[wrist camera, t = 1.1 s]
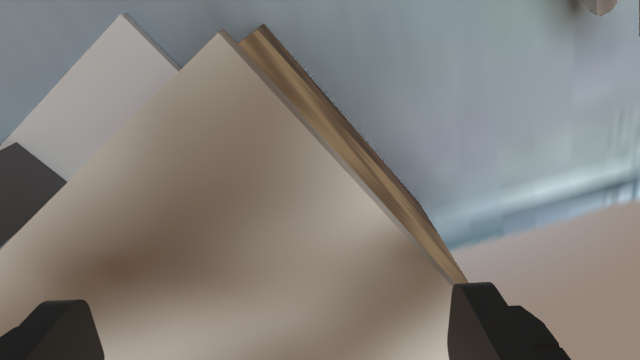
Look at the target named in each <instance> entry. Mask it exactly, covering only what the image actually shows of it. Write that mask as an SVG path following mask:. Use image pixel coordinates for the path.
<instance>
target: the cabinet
mask: <svg viewBox="0 0 640 360" xmlns="http://www.w3.org/2000/svg"><path fill="white" fill-rule="evenodd" d="M459 283H468V281H467V279H466V278H465V276H464V275H463V273H462V271H461V270H460V268H459V266H458V265H457V263H456V262H455V260H454V258H453V257H452V255H451V253H450V252H449V250H448V249H447V247H446V245H445V244H444V242H443V241H442V239H441V237H440V236H439V234H438V233H437V231H436V229H435V228H434V226H433V224H432V223H431V221H430V220H429V218H428V216H427V215H426V213H425V212H424V210H423V208H422V207H421V205H420V204H419V202H418V201H417V200H416V199H415V198H414V197H413V196H412V194H411V193H410V192H409V191H408V190H407V189H406V187H405V186H404V185H403V184H402V183H401V182H400V181H399V179H398V178H397V177H396V176H395V175H394V174H393V172H392V171H391V170H390V169H389V168H388V167H387V166H386V164H385V163H384V162H383V161H382V160H381V159H380V157H379V156H378V155H377V154H376V153H375V152H374V150H373V149H372V148H371V147H370V146H369V145H368V144H367V142H366V141H365V140H364V139H363V138H362V137H361V135H360V134H359V133H358V132H357V131H356V130H355V129H354V127H353V126H352V125H351V124H350V123H349V122H348V120H347V119H346V118H345V117H344V116H343V115H342V114H341V112H340V111H339V110H338V109H337V108H336V107H335V105H334V104H333V103H332V102H331V101H330V100H329V98H328V97H327V96H326V95H325V94H324V93H323V92H322V90H321V89H320V88H319V87H318V86H317V85H316V83H315V82H314V81H313V80H312V79H311V78H310V77H309V75H308V74H307V73H306V72H305V71H304V70H303V68H302V67H301V66H300V65H299V64H298V63H297V61H296V60H295V59H294V58H293V57H292V56H291V55H290V53H289V52H288V51H287V50H286V49H285V48H284V46H283V45H282V44H281V43H280V42H279V41H278V40H277V38H276V37H275V36H274V35H273V34H272V33H271V31H270V30H269V29H268V28H267V27H266V26H265V25H264V24H263V25H262V26H261V27H259V28H258V29H257V30H255V31H254V32H253V33H251V34H250V35H249V36H247V37H246V38H245V39H243V40H242V41H241V42H239V43H237V42H236V41H235V40H234V39H233V38H232V37H231V36H230V35H229V34H228V33H227V31H226V30H223V31H220V32H218V33H217V34H216V35H215V36H214V37H213V38H212V39H211V40H210V41H209V42H208V43H207V44H206V45H205V46H204V47H203V48H202V49H201V50H200V51H199V52H198V53H197V54H196V55H195V56H194V57H193V58H192V59H191V60H190V61H189V62H188V63H187V64H186V65H185V66H184V67H183V68H182V69H181V70H180V71H179V72H178V73H177V74H176V75H175V76H174V77H173V78H172V79H171V80H170V81H169V82H168V83H167V84H166V85H165V86H164V87H163V88H162V89H161V90H160V91H159V92H158V93H157V94H156V95H155V96H154V97H153V98H152V99H151V100H150V101H149V102H148V103H147V104H146V105H145V106H144V107H143V108H142V109H141V110H140V111H139V112H138V113H137V114H136V115H135V116H134V117H133V118H132V119H131V120H130V121H129V122H128V123H127V124H126V125H125V126H124V127H123V128H122V129H121V130H120V131H119V132H118V133H117V134H116V135H115V136H114V137H113V138H112V139H111V140H110V141H109V142H108V143H107V144H106V145H105V146H104V147H103V148H102V149H101V150H100V151H99V152H98V153H97V154H96V155H95V156H94V157H93V158H92V159H91V160H90V161H89V162H88V163H87V164H86V165H85V166H84V167H83V168H82V169H81V170H80V171H79V172H78V173H77V174H76V175H75V176H74V177H73V178H72V179H70V180H69V181H68V182H67V183H66V184H65V185H64V186H63V187H62V188H61V189H60V190H59V191H58V192H57V193H56V194H55V195H54V196H53V197H52V198H51V199H50V200H49V201H48V202H47V203H46V204H45V205H44V206H43V207H42V208H41V209H40V210H39V211H38V212H37V213H36V214H35V215H34V216H33V217H32V218H31V219H30V220H29V221H28V222H27V223H26V224H25V225H24V226H23V227H22V228H21V229H20V230H19V231H18V232H17V233H16V234H15V235H14V236H13V237H12V238H11V239H10V240H9V241H8V242H7V243H6V244H5V245H4V246H3V247H2V248H1V249H0V337H1V336H2V335H4V334H5V333H7V332H8V331H10V330H11V329H13V328H14V327H18V326H19V325H20V324H21V323H22V322H23V321H24V320H25V319H26V318H27V317H28V315H29V314H30V313H31V312H32V311H33V310H34V309H35V308H36V307H37V306H38V305H39V304H41V303H42V302H44V301H54V300H76V299H82V300H85V301H86V302H87V303H88V305H89V307H90V310H91V313H92V316H93V320H94V323H95V326H96V329H97V332H98V335H99V338H100V342H101V345H102V348H103V351H104V357H105V360H449V355H448V348H447V335H448V325H449V315H450V305H451V295H452V289H453V286H454V284H459Z"/></svg>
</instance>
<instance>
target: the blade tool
mask: <svg viewBox="0 0 640 360" xmlns="http://www.w3.org/2000/svg"><path fill="white" fill-rule="evenodd" d="M180 70H181V68H180V67H179V66H178V65H177V64H176V63H175V62H174V61H173V60H172V59H171V58H170V57H169V56H168V55H167V54H166V53H165V52H164V51H163V50H162V49H161V48H160V47H159V46H158V45H157V44H156V43H155V42H154V41H153V40H152V39H151V38H150V37H149V36H148V35H147V34H146V33H145V32H144V31H143V30H142V29H141V28H140V27H139V26H138V25H137V24H136V23H135V22H134V21H133V20H132V19H131V18H130V17H129V16H128V15H127V14H120V15H119V16H118V17H117V18H116V19H115V21H114V22H113V23H112V24H111V25H110V26H109V27H108V28H107V29H106V30H105V31H104V33H103V34H102V35H101V36H100V37H99V38H98V39H97V40H96V41H95V42H94V44H93V45H92V46H91V47H90V48H89V49H88V50H87V51H86V52H85V53H84V55H83V56H82V57H81V58H80V59H79V60H78V61H77V62H76V63H75V64H74V65H73V67H72V68H71V69H70V70H69V71H68V72H67V73H66V74H65V75H64V76H63V78H62V79H61V80H60V81H59V82H58V83H57V84H56V85H55V86H54V87H53V88H52V90H51V91H50V92H49V93H48V94H47V95H46V96H45V97H44V98H43V99H42V101H41V102H40V103H39V104H38V105H37V106H36V107H35V108H34V109H33V110H32V112H31V113H30V114H29V115H28V116H27V117H26V118H25V119H24V120H23V121H22V122H21V124H20V125H19V126H18V127H17V128H16V129H15V130H14V131H13V132H12V133H11V135H10V136H9V137H8V138H7V139H6V140H5V141H4V142H3V143H2V144H1V145H0V249H1V248H2V247H3V246H4V245H5V244H6V243H7V242H8V241H9V240H10V239H11V238H12V237H13V236H14V235H15V234H16V233H17V232H18V231H19V230H20V229H21V228H22V227H23V226H24V225H25V224H26V223H27V222H28V221H29V220H30V219H31V218H32V217H33V216H34V215H35V214H36V213H37V212H38V211H39V210H40V209H41V208H42V207H43V206H44V205H45V204H46V203H47V202H48V201H49V200H50V199H51V198H52V197H53V196H54V195H55V194H56V193H57V192H58V191H59V190H60V189H61V188H62V187H63V186H64V185H65V184H66V183H67V182H68V181H69V180H70V179H72V178H73V177H74V176H75V175H76V174H77V173H78V172H79V171H80V170H81V169H82V168H83V167H84V166H85V165H86V164H87V163H88V162H89V161H90V160H91V159H92V158H93V157H94V156H95V155H96V154H97V153H98V152H99V151H100V150H101V149H102V148H103V147H104V146H105V145H106V144H107V143H108V142H109V141H110V140H111V139H112V138H113V137H114V136H115V135H116V134H117V133H118V132H119V131H120V130H121V129H122V128H123V127H124V126H125V125H126V124H127V123H128V122H129V121H130V120H131V119H132V118H133V117H134V116H135V115H136V114H137V113H138V112H139V111H140V110H141V109H142V108H143V107H144V106H145V105H146V104H147V103H148V102H149V101H150V100H151V99H152V98H153V97H154V96H155V95H156V94H157V93H158V92H159V91H160V90H161V89H162V88H163V87H164V86H165V85H166V84H167V83H168V82H169V81H170V80H171V79H172V78H173V77H174V76H175V75H176V74H177V73H178V72H179V71H180Z"/></svg>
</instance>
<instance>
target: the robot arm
mask: <svg viewBox="0 0 640 360" xmlns="http://www.w3.org/2000/svg"><path fill="white" fill-rule="evenodd" d="M447 348H448V355H449V360H571V359H570V358H569V356H568V355H567V354H566V352H565V351H564V350H563V349H562V348H560V347H559V343H558V342H557V340H556V339H555V338H554V336H553V335H552V334H551V333H550V331H549V330H548V329H547V327H546V326H545V324H544V323H543V322H542V321H540V320H539V319H538V318H536V317H535V316H534V315H532V314H531V313H529V312H528V311H527V310H525V309H524V308H523V307H521V306H508V305H507V303H506V302H505V300H504V299H503V298H502V296H501V295H500V293H499V291H498V290H497V288H496V287H495V286H494V285H493V284H492V283H491V282H481V283H459V284H454V286H453V289H452V295H451V305H450V315H449V325H448V335H447ZM0 360H105V357H104V351H103V348H102V345H101V342H100V338H99V335H98V332H97V329H96V326H95V323H94V320H93V316H92V313H91V310H90V307H89V305H88V303H87V302H86V301H85V300H82V299H76V300H54V301H44V302H42V303H41V304H39V305H38V306H37V307H36V308H35V309H34V310H33V311H32V312H31V313H30V314H29V315H28V317H27V318H26V319H25V320H24V321H23V322H22V323H21V324H20V325H19V326H18V327H14V328H13V329H11V330H10V331H8V332H7V333H5V334H4V335H2V336H1V337H0Z"/></svg>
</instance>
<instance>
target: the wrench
mask: <svg viewBox="0 0 640 360" xmlns="http://www.w3.org/2000/svg"><path fill="white" fill-rule="evenodd" d="M582 1H583V2H584V3H585V5H586V6H587V8H588V9H589V10H590V12H592V13H594V14H596V15H599V16H602V15H604V14H606V13H607V12H609V11H611V10H612V9H613V8H614V7H615V5H616V4H617V0H582ZM639 36H640V0H639Z"/></svg>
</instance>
